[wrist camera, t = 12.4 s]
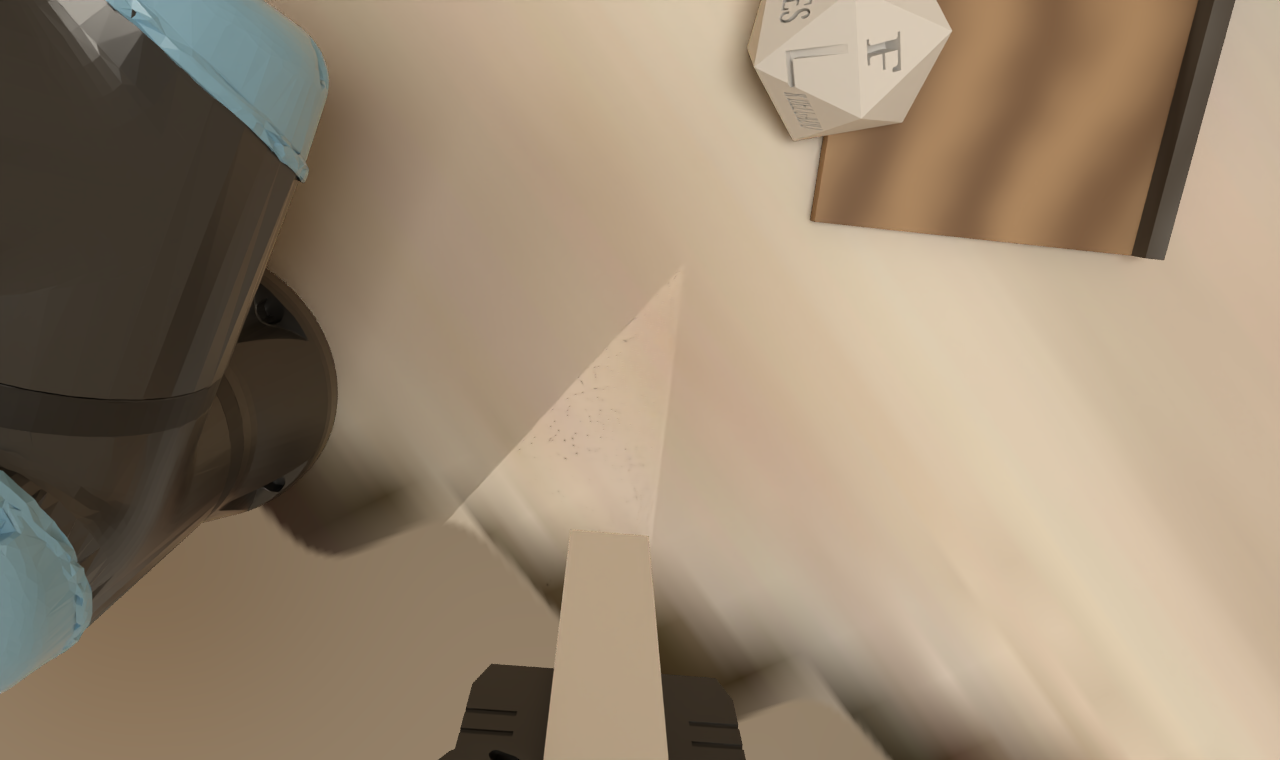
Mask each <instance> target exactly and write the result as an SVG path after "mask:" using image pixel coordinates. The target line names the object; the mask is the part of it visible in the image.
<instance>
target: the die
mask: <svg viewBox="0 0 1280 760" xmlns="http://www.w3.org/2000/svg"><path fill="white" fill-rule="evenodd" d="M951 32H952V29H951V27H950V25H949V24H948V22H947V20H946V18H945V16H944V14H943V12H942V10H941V8H940V6H939V4H938V2H937V1H936V0H761V2H760V5H759V9H758V12H757V16H756V19H755V22H754V26H753V29H752V33H751V36H750V40H749V43H748V46H747V50H748V53H749V55H750V58H751V61H752V63H753V66H754V68H755V70H756V72H757V74H758V76H759V78H760V80H761V81H762V83H763V85H764V87H765V89H766V91H767V93H768V95H769V96H770V98H771V100H772V102H773V104H774V106H775V108H776V110H777V112H778V113H779V115H780V117H781V119H782V121H783V123H784V125H785V127H786V129H787V130H788V132H789V134H790V136H791V138H792V140H793V141H797V140H802V139H808V138H814V137H820V136H826V135H832V134H838V133H844V132H849V131H855V130H861V129H867V128H873V127H879V126H885V125H891V124H897V123H902V122H903V120H904V118H905V117H906V115H907V113H908V111H909V109H910V107H911V106H912V104H913V102H914V100H915V98H916V96H917V95H918V93H919V91H920V89H921V87H922V85H923V84H924V82H925V80H926V78H927V76H928V74H929V73H930V71H931V69H932V67H933V65H934V63H935V62H936V60H937V58H938V56H939V54H940V52H941V51H942V49H943V47H944V45H945V43H946V41H947V40H948V38H949V36H950V34H951Z"/></svg>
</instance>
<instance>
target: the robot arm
mask: <svg viewBox="0 0 1280 760" xmlns="http://www.w3.org/2000/svg"><path fill="white" fill-rule="evenodd" d="M328 89H329V74H328V69H327V65H326V62H325V59H324V57H323V55H322V53H321V51H320V49H319V47H318V46H317V44H316V43H315V41H314V40H313V39H312V38H311V37H310V36H309V35H308V34H307V32H305V31H304V30H303V29H302V28H301V27H300V26H298V25H297V24H296V23H294V22H293V21H292V20H290V19H289V18H288V17H286V16H285V15H283V14H282V13H281V12H279V11H278V10H276V9H275V8H274V7H272V6H271V5H269V4H268V3H266V2H265V1H263V0H0V694H1V693H3V692H5V691H7V690H8V689H10V688H11V687H13V686H14V685H16V684H17V683H18V682H20V681H21V680H23V679H24V678H25V677H27V676H28V675H29V674H31V673H32V672H34V671H35V670H37V669H38V668H40V667H41V666H42V665H44V664H45V663H47V662H48V661H50V660H51V659H54V658H56V657H57V656H58V655H60V654H62V653H64V652H65V651H67V650H68V649H69V648H71V646H73V645H74V644H75V643H77V642H78V641H79V639H80V637H81V635H82V633H83V632H84V630H85V629H86V628H87V627H88V626H90V625H91V624H92V623H93V622H94V621H95V620H96V619H97V618H98V617H99V616H101V615H102V614H103V613H104V612H105V611H106V610H107V609H108V608H109V607H110V606H111V605H113V604H114V603H115V602H116V601H117V600H118V599H119V598H120V597H121V596H123V595H124V594H125V593H126V592H127V591H128V590H129V589H130V588H131V587H132V586H134V585H135V584H136V583H137V582H138V581H139V580H140V579H141V578H142V577H143V576H144V575H145V574H147V573H148V572H149V571H150V570H151V569H152V568H153V567H154V566H155V565H156V564H157V563H159V562H160V561H161V560H162V559H163V558H164V557H165V556H166V555H167V554H169V553H170V552H171V551H172V550H173V549H174V548H175V547H176V546H177V545H178V544H179V543H181V541H183V540H184V539H185V538H186V537H187V536H188V535H189V534H190V533H192V532H193V531H194V530H195V529H196V528H197V527H198V526H199V525H200V524H201V523H204V522H208V521H212V520H216V519H220V518H224V517H228V516H232V515H236V514H240V513H243V512H246V511H249V510H252V509H254V508H257V507H259V506H261V505H263V504H265V503H268V502H269V501H271V500H273V499H274V498H276V497H278V496H279V495H281V494H282V493H284V492H285V491H286V490H288V489H289V488H290V487H291V486H293V485H294V484H295V483H296V482H297V481H298V480H299V479H300V478H301V477H302V476H303V475H304V474H305V473H306V472H307V471H308V470H309V469H310V467H311V466H312V465H313V464H314V462H315V461H316V460H317V458H318V457H319V455H320V454H321V452H322V451H323V449H324V447H325V445H326V443H327V441H328V438H329V436H330V433H331V431H332V427H333V424H334V420H335V416H336V409H337V399H338V387H337V376H336V370H335V364H334V360H333V357H332V353H331V350H330V348H329V345H328V342H327V340H326V338H325V335H324V333H323V331H322V329H321V327H320V326H319V324H318V322H317V321H316V319H315V317H314V316H313V314H312V313H311V311H310V310H309V309H308V307H307V306H306V305H305V304H304V302H303V301H302V300H301V299H300V298H299V296H298V295H297V294H296V293H295V292H294V291H293V290H292V289H291V288H290V287H289V286H288V285H287V284H285V283H284V282H283V281H282V280H281V279H279V278H278V277H277V276H276V275H274V274H273V273H272V272H270V271H269V270H267V269H266V265H267V263H268V260H269V257H270V255H271V252H272V250H273V247H274V244H275V242H276V239H277V237H278V234H279V231H280V229H281V226H282V223H283V221H284V218H285V216H286V213H287V210H288V208H289V205H290V203H291V200H292V197H293V195H294V192H295V190H296V187H297V184H298V182H299V181H300V182H303V183H305V181H306V179H307V176H308V173H309V168H308V166H307V164H306V160H307V157H308V154H309V151H310V148H311V145H312V142H313V139H314V136H315V133H316V130H317V127H318V124H319V121H320V118H321V114H322V111H323V108H324V105H325V102H326V99H327V95H328ZM439 760H746V759H745V754H744V750H742V741H741V736H740V731H739V729H738V722H737V717H736V713H735V708H734V704H733V700H732V699H731V697H730V696H729V695H728V694H727V692H726V691H725V690H724V689H723V687H722V686H721V685H720V684H719V682H718V681H717V680H716V679H715V678H706V677H692V676H679V675H665V674H661V670H660V659H659V648H658V636H657V625H656V614H655V603H654V592H653V580H652V569H651V558H650V547H649V536H642V535H631V534H619V533H607V532H595V531H583V530H571V529H570V538H569V546H568V555H567V563H566V572H565V580H564V589H563V597H562V606H561V614H560V623H559V631H558V640H557V648H556V657H555V666H554V669H553V668H539V667H526V666H512V665H499V664H491V665H490V666H489V667H488V668H487V669H486V670H485V671H484V672H483V673H482V674H481V675H480V677H479V678H477V680H476V681H475V682H474V683H473V684H472V687H471V691H470V695H469V699H468V702H467V707H466V712H465V714H464V717H463V721H462V725H461V730H460V733H459V736H458V740H457V744H456V747H455V749H454V750H451V751H449V752H448V753H446V754H445V755H444V756H443V757H441V758H440V759H439Z"/></svg>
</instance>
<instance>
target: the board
mask: <svg viewBox="0 0 1280 760" xmlns="http://www.w3.org/2000/svg"><path fill="white" fill-rule="evenodd" d="M936 1H937V2H938V4H939V6H940V8H941V10H942V12H943V14H944V16H945V18H946V20H947V22H948V24H949V25H950V27H951V29H952V32H951V34H950V36H949V38H948V40H947V41H946V43H945V45H944V47H943V49H942V51H941V52H940V54H939V56H938V58H937V60H936V62H935V63H934V65H933V67H932V69H931V71H930V73H929V74H928V76H927V78H926V80H925V82H924V84H923V85H922V87H921V89H920V91H919V93H918V95H917V96H916V98H915V100H914V102H913V104H912V106H911V107H910V109H909V111H908V113H907V115H906V117H905V118H904V120H903V122H902V123H897V124H891V125H885V126H879V127H873V128H867V129H861V130H855V131H849V132H844V133H838V134H832V135H826V136H823V142H822V149H821V155H820V161H819V168H818V174H817V180H816V187H815V193H814V199H813V206H812V212H811V218H810V220H811V221H814V222H823V223H833V224H842V225H851V226H861V227H870V228H879V229H889V230H898V231H907V232H917V233H926V234H935V235H945V236H954V237H963V238H973V239H982V240H991V241H1001V242H1010V243H1019V244H1029V245H1038V246H1047V247H1057V248H1066V249H1075V250H1085V251H1094V252H1104V253H1113V254H1122V255H1131V256H1137V257H1142V258H1148V259H1157V260H1164V259H1165V255H1166V251H1167V248H1168V244H1169V240H1170V237H1171V233H1172V229H1173V226H1174V222H1175V218H1176V215H1177V211H1178V208H1179V204H1180V200H1181V197H1182V193H1183V189H1184V186H1185V182H1186V178H1187V175H1188V171H1189V167H1190V164H1191V160H1192V156H1193V153H1194V149H1195V145H1196V142H1197V138H1198V134H1199V131H1200V127H1201V123H1202V120H1203V116H1204V113H1205V109H1206V105H1207V102H1208V98H1209V94H1210V91H1211V87H1212V83H1213V80H1214V76H1215V72H1216V69H1217V65H1218V61H1219V58H1220V54H1221V50H1222V47H1223V43H1224V39H1225V36H1226V32H1227V28H1228V25H1229V21H1230V17H1231V14H1232V10H1233V7H1234V3H1235V0H936Z"/></svg>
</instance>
